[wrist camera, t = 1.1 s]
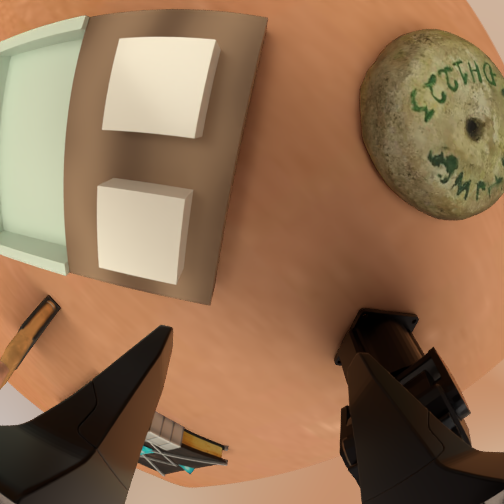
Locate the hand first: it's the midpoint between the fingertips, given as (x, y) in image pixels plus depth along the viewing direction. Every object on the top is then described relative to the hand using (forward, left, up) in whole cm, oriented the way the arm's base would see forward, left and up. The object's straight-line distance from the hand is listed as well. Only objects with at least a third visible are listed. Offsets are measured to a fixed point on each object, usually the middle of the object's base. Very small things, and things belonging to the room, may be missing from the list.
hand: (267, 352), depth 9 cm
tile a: (+7, 0, -8) cm, 11 cm away
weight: (-11, -11, -11) cm, 19 cm away
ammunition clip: (+21, +15, -11) cm, 28 cm away
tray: (+19, -4, -11) cm, 22 cm away
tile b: (+7, -8, -8) cm, 14 cm away
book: (+11, +33, -12) cm, 37 cm away
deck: (+8, -4, -11) cm, 14 cm away
